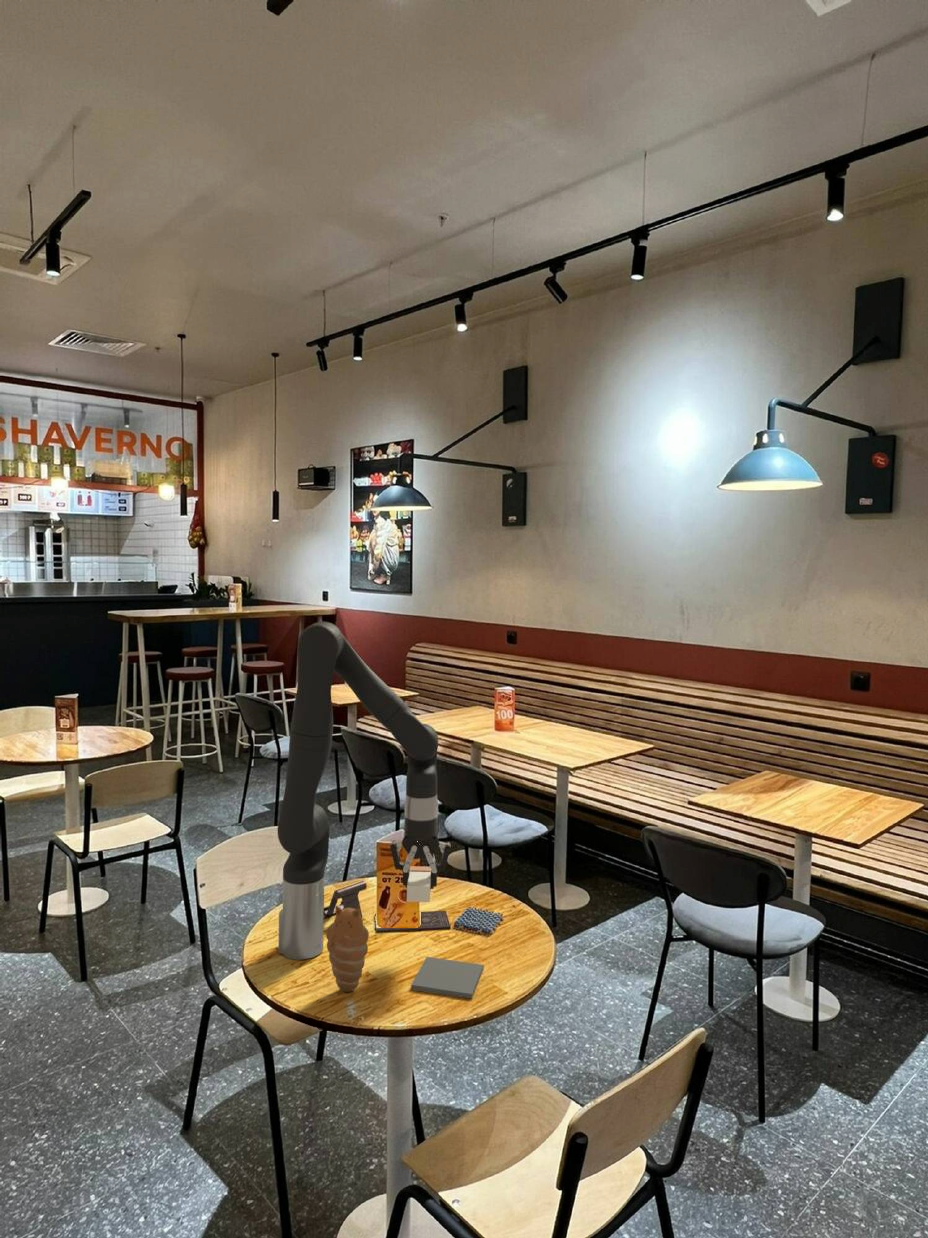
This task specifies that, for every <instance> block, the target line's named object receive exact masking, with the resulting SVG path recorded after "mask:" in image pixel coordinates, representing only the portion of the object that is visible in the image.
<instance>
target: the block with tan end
mask: <svg viewBox="0 0 928 1238" xmlns="http://www.w3.org/2000/svg"><path fill="white" fill-rule="evenodd" d="M409 869H410V875H409V878H408V884H407V888H406V902H407V903H409V902H410V903H430V902H431V901H430V900H431V894H432V893H431V891H432V889H431V868H430V866H415V865H413V866H412V865H410V867H409Z"/></svg>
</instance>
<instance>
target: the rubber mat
mask: <svg viewBox="0 0 928 1238" xmlns="http://www.w3.org/2000/svg"><path fill="white" fill-rule="evenodd" d="M484 969H485V966H484V964H481V963H480V964H479V963H473V962H467V961H465V962H464V961H459V960H454V959H453V960H452V959H446V958H445V959H444V958H439V957H438V958H437V957H430V956H426V957H425V959H424V961H423V963H422V965H421V966H420V968H419V970H418V972H417V974H416V976H415V977H414V979H413V981H412V983H411V985H410V987H411V988H410V990H411V991H412V990H413V991H419V992H425V993H431V994H438V995H445V996H452V997H457V996H459V997H458V998H464V997H465V999H470V998H472V999H473V997H474V994H475V992H476V989H477V987H478V984H479V982H480V979H481V977H482V974H483V972H484ZM460 996H461V997H460Z"/></svg>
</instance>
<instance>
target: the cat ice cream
mask: <svg viewBox="0 0 928 1238" xmlns="http://www.w3.org/2000/svg"><path fill="white" fill-rule="evenodd" d="M360 908H361V907H360ZM360 908H358V909H354V908H345V909H341V908H340V907H338V906H337V905H336V909H335V910H336V914H335V915H336V916H335V918H334V921H333V922H332V923H331V924H330V925H329V926H328V927H327V929H326V931H325V936H326V939H327V942H326V948H327V952H328V953H329V954H328V959H329V961H330V964H331V972H332V974H333V977H335V983H336V985H337V988H338V989H339V990H341V991H342V992H347V993H349V992H352V991H354V990H355V989H357V987H358V986H359V984H360V979H361V977H362V975H363V968H364V966H365V961H366V960H365V956H366V955H367V954H368V952H369V951H368V950H369V947H368V944H367V943H368V941H369V937H370V935H369V934H370V933H369V930H368V928H367V927H365V924H364V921H363V917H361V915H360V912H362V909H360Z"/></svg>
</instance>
